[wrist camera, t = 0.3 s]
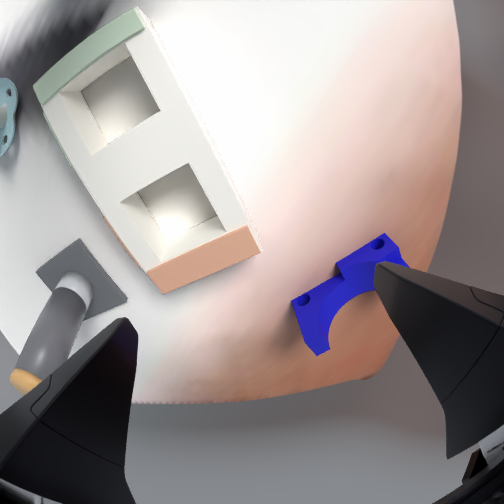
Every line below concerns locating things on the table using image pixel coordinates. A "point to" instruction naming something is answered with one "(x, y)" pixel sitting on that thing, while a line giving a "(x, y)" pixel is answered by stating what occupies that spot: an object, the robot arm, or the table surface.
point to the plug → (53, 332)
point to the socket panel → (146, 156)
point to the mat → (87, 265)
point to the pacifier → (7, 113)
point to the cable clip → (341, 290)
